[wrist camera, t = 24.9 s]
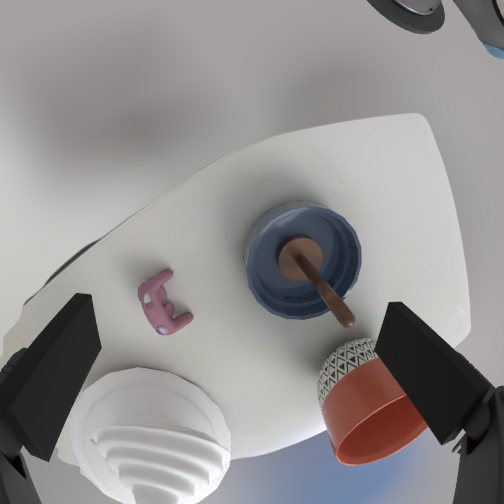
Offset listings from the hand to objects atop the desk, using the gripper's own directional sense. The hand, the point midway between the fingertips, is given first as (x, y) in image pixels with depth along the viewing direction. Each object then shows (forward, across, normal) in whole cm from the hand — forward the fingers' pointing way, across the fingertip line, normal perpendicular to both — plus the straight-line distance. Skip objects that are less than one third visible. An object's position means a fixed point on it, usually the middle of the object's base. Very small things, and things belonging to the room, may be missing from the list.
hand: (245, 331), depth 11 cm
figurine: (+33, -13, -40) cm, 54 cm away
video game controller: (+33, -9, -15) cm, 37 cm away
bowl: (+33, +12, -7) cm, 35 cm away
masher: (+32, +12, -7) cm, 35 cm away
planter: (+33, +26, -29) cm, 51 cm away
